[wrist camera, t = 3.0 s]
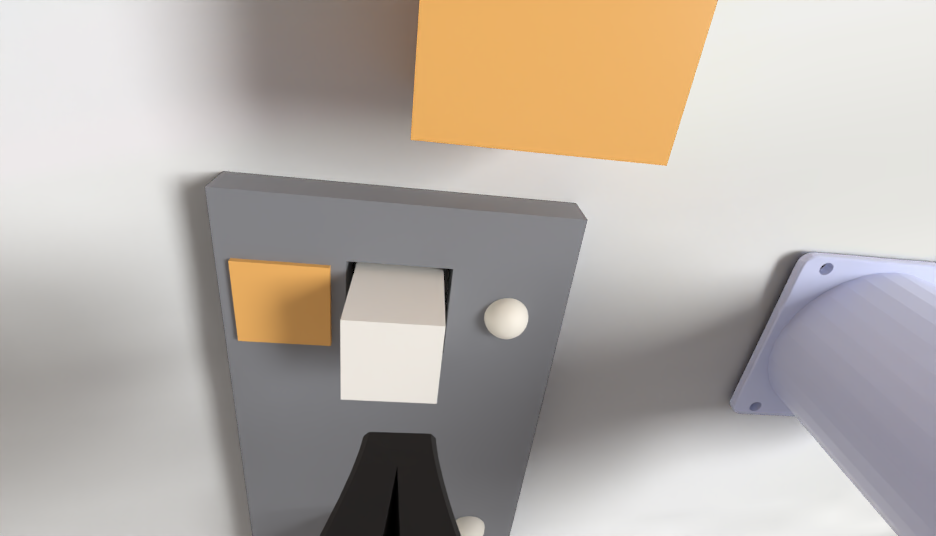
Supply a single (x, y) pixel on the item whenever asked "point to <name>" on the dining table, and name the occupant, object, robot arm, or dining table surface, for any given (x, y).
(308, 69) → the dining table surface
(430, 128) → the orange cube
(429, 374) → the white rectangular block
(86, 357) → the dining table surface
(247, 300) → the panel
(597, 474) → the dining table surface
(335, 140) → the dining table surface
